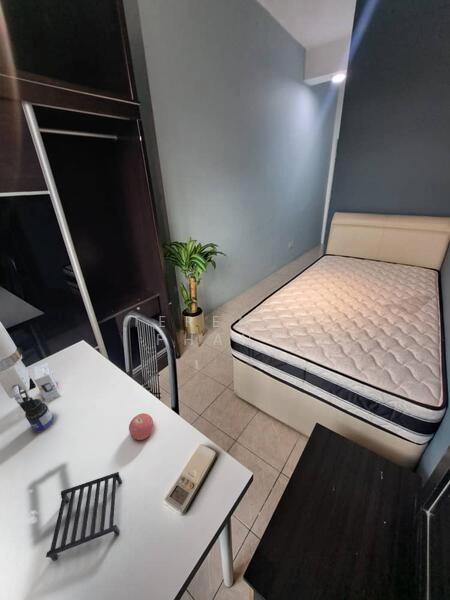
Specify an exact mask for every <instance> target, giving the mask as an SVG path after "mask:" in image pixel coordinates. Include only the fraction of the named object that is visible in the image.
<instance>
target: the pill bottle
mask: <svg viewBox="0 0 450 600" xmlns="http://www.w3.org/2000/svg"><path fill="white" fill-rule="evenodd" d="M33 400H34V402H35V403H36V405H37V407H35V408H33V409H31V410H29V411H27V412H25V414H24V415H25V418H26V420H27V421H28V423H29V425H30V426H31V428H32V429H33V431H34V432H36V433H39V432H43V431H45V430H47V429H49V428H50V427H51V426H52V425H53V424H54V422H55V416H54V415H53V413H52V411H51V410H50V407H48V405H47V404H46V403H45V402H43V401H42V399H40V398H34V399H33Z"/></svg>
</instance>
